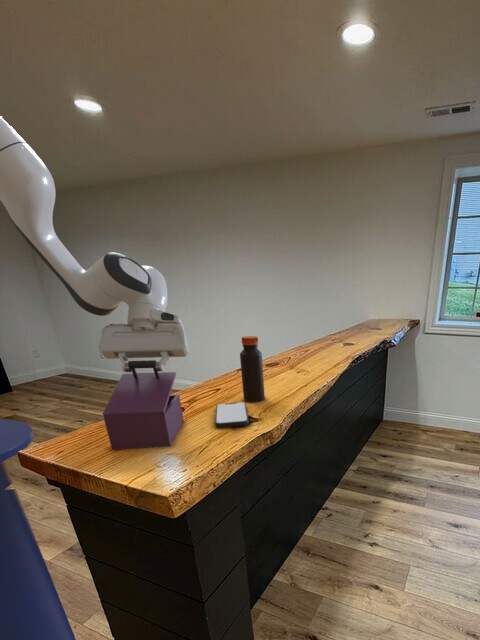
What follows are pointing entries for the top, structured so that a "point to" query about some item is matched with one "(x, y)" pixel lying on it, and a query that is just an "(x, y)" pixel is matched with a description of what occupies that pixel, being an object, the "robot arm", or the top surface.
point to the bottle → (252, 370)
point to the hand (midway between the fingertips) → (143, 370)
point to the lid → (141, 392)
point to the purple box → (146, 427)
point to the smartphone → (231, 415)
